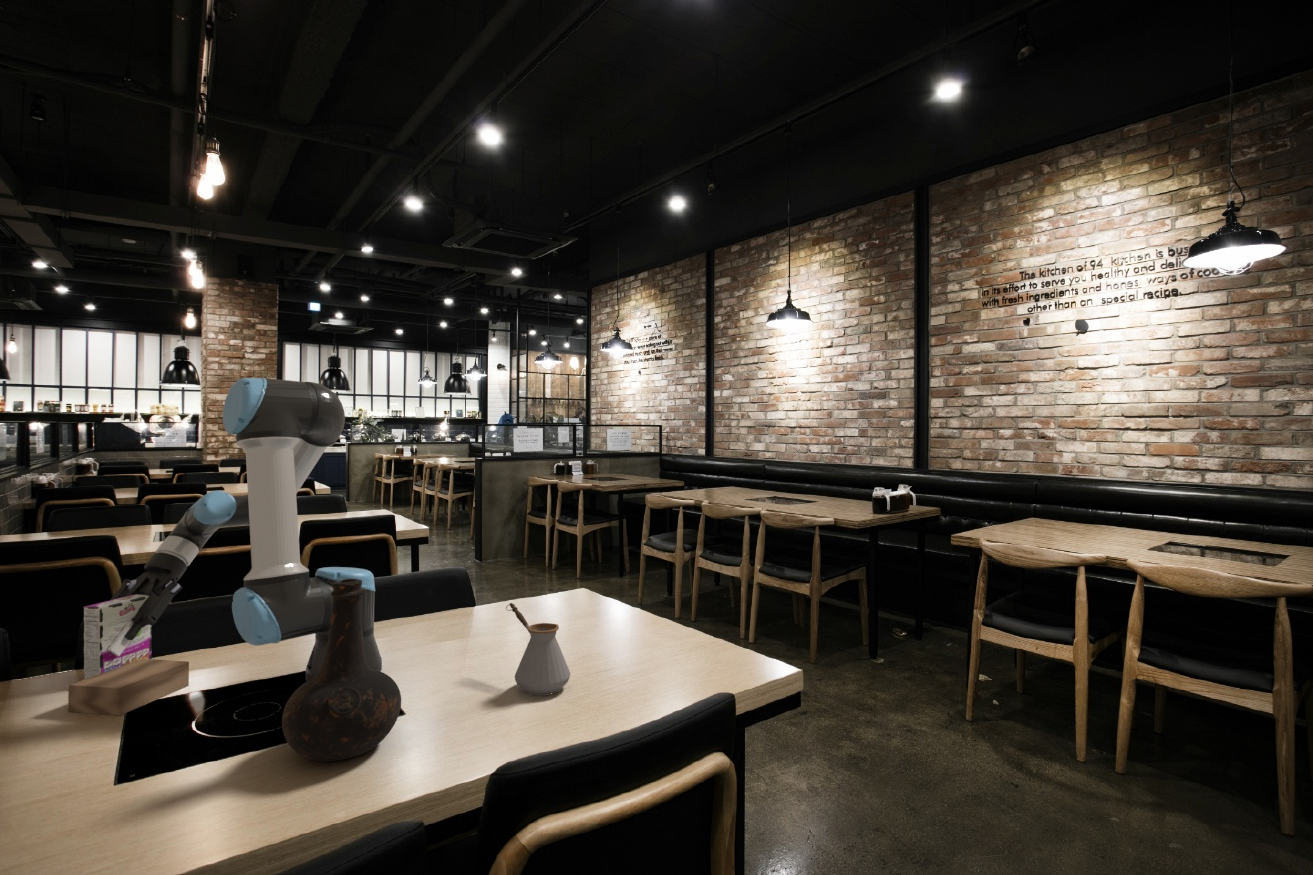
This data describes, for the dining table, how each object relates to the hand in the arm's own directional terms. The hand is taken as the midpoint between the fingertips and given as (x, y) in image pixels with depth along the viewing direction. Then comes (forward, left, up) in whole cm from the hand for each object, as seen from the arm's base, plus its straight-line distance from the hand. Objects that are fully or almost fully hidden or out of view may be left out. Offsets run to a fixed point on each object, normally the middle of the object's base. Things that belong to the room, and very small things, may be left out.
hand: (101, 652), depth 136 cm
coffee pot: (-89, -15, -7) cm, 90 cm away
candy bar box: (0, -4, -6) cm, 7 cm away
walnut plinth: (-14, +6, -6) cm, 17 cm away
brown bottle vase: (-68, +19, -7) cm, 71 cm away
